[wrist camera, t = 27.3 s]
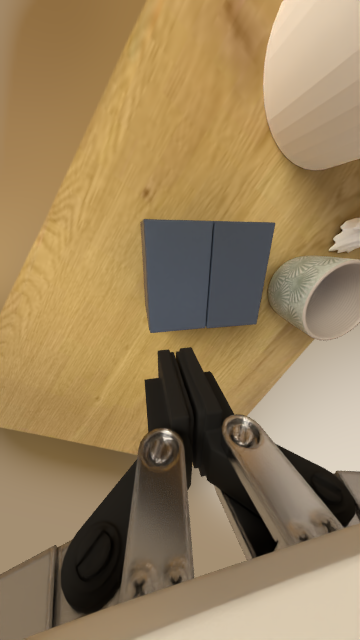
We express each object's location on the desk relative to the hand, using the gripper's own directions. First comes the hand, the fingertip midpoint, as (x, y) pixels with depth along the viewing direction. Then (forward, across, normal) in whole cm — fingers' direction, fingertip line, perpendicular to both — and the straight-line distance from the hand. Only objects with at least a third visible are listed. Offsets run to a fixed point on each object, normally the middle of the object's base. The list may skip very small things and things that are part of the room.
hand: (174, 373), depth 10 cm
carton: (+25, -7, -1) cm, 26 cm away
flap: (+15, -3, -1) cm, 16 cm away
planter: (+25, -27, +3) cm, 37 cm away
